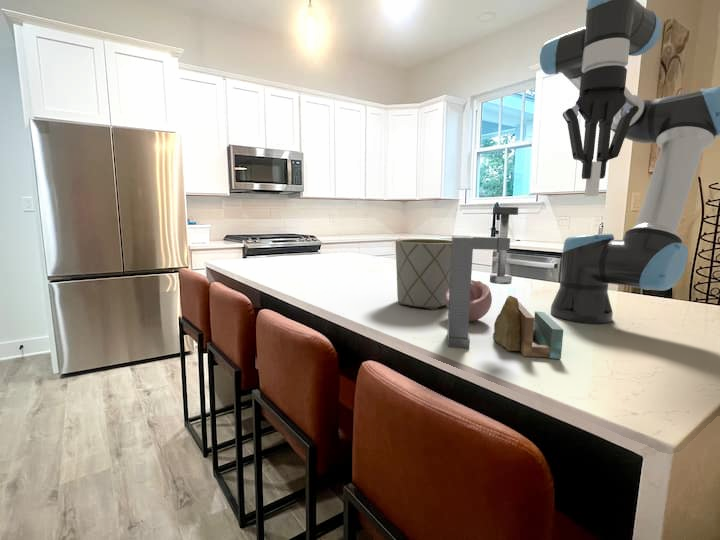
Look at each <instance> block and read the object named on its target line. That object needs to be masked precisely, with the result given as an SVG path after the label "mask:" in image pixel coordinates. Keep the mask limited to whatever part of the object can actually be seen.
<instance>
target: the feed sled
mask: <svg viewBox="0 0 720 540" xmlns="http://www.w3.org/2000/svg"><path fill="white" fill-rule="evenodd" d="M518 304H519V313H520V326H521V331H520V333H521V343H520V350H519V352H520V353H521V355H522V357H537V358H547V359H548V358H549V359H556V360H561V359H562V348H563V339H564V329H563V328H562V327H561V326H560V325H559V324H558V323H557V322H556V321H555V320H554V319H553V318H552V317H551V316H549V315H548V314H547V313H546V312H545V311H534V315H532V314H531V313H530V311H529V310H528V309H527V308H526V307H525V306H524V305H523V304H522V303H521V302H520V301H518ZM534 339H535V341H536V342H537V343H538V344H534V343H533V340H534Z"/></svg>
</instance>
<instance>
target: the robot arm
mask: <svg viewBox="0 0 720 540" xmlns="http://www.w3.org/2000/svg"><path fill="white" fill-rule="evenodd" d="M586 4H587V5H586V8H585V12H586V15H585V16H586V18H585V26H584V27H581V28H578V29H576V30H572V31H570V32H568V33H564V34H561V35H559V36H557V37H554V38H553V39H551V40H548V41H547V42H545V43H544V44H543V46H542V47H541V51H540V53H539V64H540V67H541V70H542V72H543V73H544V74H545V75H557V74H559V73H562V75H564V77H566V78H567V79H568V80H569V81H570V82H571V84H573V85H574V87H575V88H576V89H577V90H578V91H579V94H578V95H579V96H578V99H577V101H576V102H575V105H574V106H572V107H570V108H567V109H566V110H565V111H563V112H562V117H563V119H564V120H565V122H566V124H567V129H568V136H569V140H570V146H571V147H570V148H571V154H572V159H573V160H576V161H580V163H582V169H581V179H582V180H585V181H586V182H585V188H584V189H585V190H584V196H585V197H595V196H596V197H597V196H599V191H600V190H599V188H600V181H601V180H602V179H604V178H605V176H606V172H607V163H608V161H609V160H612V159H614V158H618V156H619V155H620V152H621V149H622V147H623V144H624V141H625V139H626V140H630V141H632V142H636V143H641V144H654V143H656V144H657V146H658V148H659V151H658V152H659V153H658V155H657V159H656V162H655V164H654V165H655V166H654V169H653V171H652V173H651V177H650V181H649V183H648V186H647V189H646V193H645V195H644V199H643V201H642V204H641V207H640V210H639V212H638V217H637V219H636V223H635V225H634V226H633V227H631V228H628V229H626V231H625V234H624V236H623V239H615V236H614V234H612V233H609V234H608V233H603V234H589V235H577V236H570V237H567V238H566V239H565V240H564V242H563V248H562V251H561V254H562V258H561V268H560V269H561V270H560V278H559V279H560V280H559V288H558V291H556V295H555V297H554V299H553V301H552V304H551V305H550V314H551V315H552V316H555V317H556V318H559V319H563V320H566V321H570V322H571V321H572V322H575V323H583V324H584V323H586V324H606V323H607V324H608V323H610V322H612V321H613V314H614V312H613V308H612V305H611V304H612V303H611V300H610V297H609V293H608V289H609V285H610V284H611V285H614V286H615V285H617V286H623V287H629V288H630V287H631V288H637V289H642V290H646V291H651V290H652V291H660V292H661V291H667V290H670V289H671V288H673V287H674V286H676V284H677V283H678V282H679V281H680V279H681V277H682V276H683V274H684V272H685V269H686V268H687V263H688V261H687V260H688V257H689V250H688V247H687V246H686V245H685V244H683V238H682V237H681V235H680V234H678V230H679V227H680V223H681V220H682V218H683V214H684V211H685V208H686V206H687V205H686V204H687V201H688V199H689V196H690V192H691V189H692V185H693V183H694V180H695V176H696V173H697V170H698V167H699V163H700V160H701V159H702V158H701V157H702V155H703V151H705V150H708V148H710V147H711V146H713V144H714V141H715V138H716V136H718V137H719V136H720V87H717V86H715V87H710V88H700V90H695V91H690V92H689V91H688V92H685V93H680V94H673V95H669V96H664V97H660V98H653V99H643V98H642V97H641V96H640V95H637V94H632V92H631V91H630V89H628V88H627V87H626V83H627V73H628V69H627V68H626V66H628V64H629V56H630V57H636V56H641V55H643V54H645V53H647V52H649V51H650V50H651V49H653V47H654V46H655V45H657V43H658V41H659V40H660V37H661V35H662V31H663V25H662V21H661V19H660V18H659V16H657V15H656V13H655V12H654V11H653V10H650V9H648V8H647V7H645V6H643V5H642V4H641V3H640V1H638V0H587V3H586ZM579 114H580V116H581V117H582V118H583V120H584V128H585V129H584V137H583V138H584V139H583V141H582V136H581V128H580V122H579V118H578V117H579ZM597 126H598V129H599V130H598V136H597V137H598V139H597V149H596V159H595V160H596V161H594V157H595V147H596V146H595V145H596V138H597V137H596V135H597ZM612 132H614V134H613V137H612V140H611V133H612ZM610 142H611V143H610Z"/></svg>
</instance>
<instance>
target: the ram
mask: <svg viewBox="0 0 720 540" xmlns="http://www.w3.org/2000/svg"><path fill="white" fill-rule="evenodd" d="M492 215H494V216H495V215H499V216H500V223H499V237H500V238H509V236H508V235H509V222H510V215H511V216H512V215H514V216H515V215H517V216H518V215H519V207H516V206H515V207H514V206H512V207H510V206H507V207H506V206H501V207H500V206H498V207H497V206H496V207H495V206H492ZM507 253H508V250H498V254H497V255H498V256H497V271H496V273H491V274H489V282H490V283H491V284H495V285H496V284H497V285H511V284H512V280H513V276H512V275H510V274H506V266H507V265H506V264H507Z"/></svg>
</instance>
